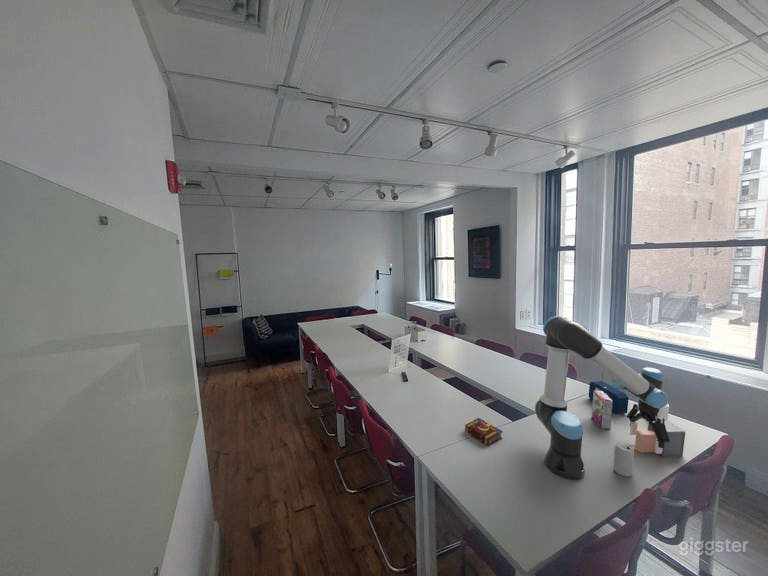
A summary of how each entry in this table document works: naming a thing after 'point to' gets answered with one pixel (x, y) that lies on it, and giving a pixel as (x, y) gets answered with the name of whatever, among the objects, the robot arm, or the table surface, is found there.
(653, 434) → the tall pink prism
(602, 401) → the candy bar box
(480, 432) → the decorative book
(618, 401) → the radio
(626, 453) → the beverage can
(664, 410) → the mug
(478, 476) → the table surface
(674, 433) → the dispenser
